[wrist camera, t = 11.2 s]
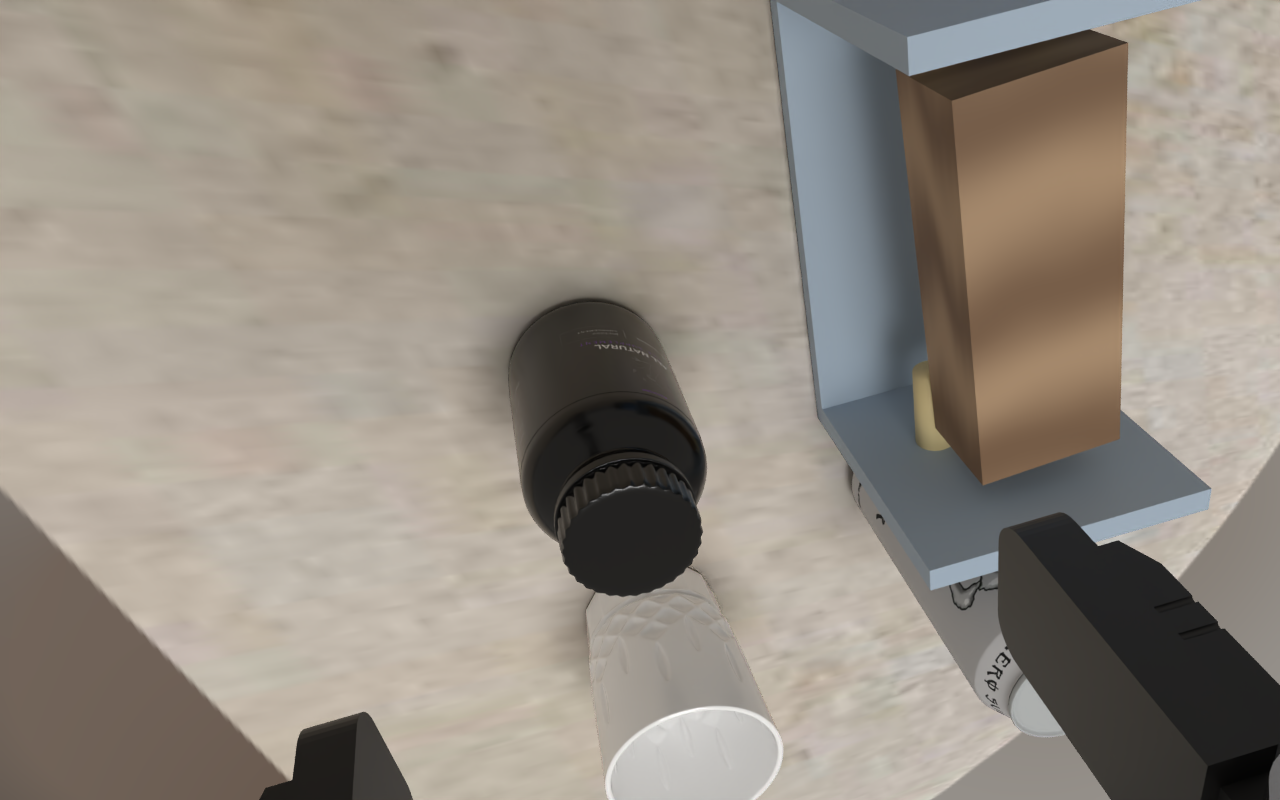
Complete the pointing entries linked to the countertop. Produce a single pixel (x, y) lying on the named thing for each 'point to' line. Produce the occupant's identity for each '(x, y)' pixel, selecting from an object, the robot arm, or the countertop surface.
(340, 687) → the countertop surface
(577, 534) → the supplement bottle
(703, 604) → the white cup
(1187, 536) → the countertop surface
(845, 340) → the peg stand
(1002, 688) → the energy drink can
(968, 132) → the walnut board
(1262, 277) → the countertop surface
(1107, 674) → the robot arm
